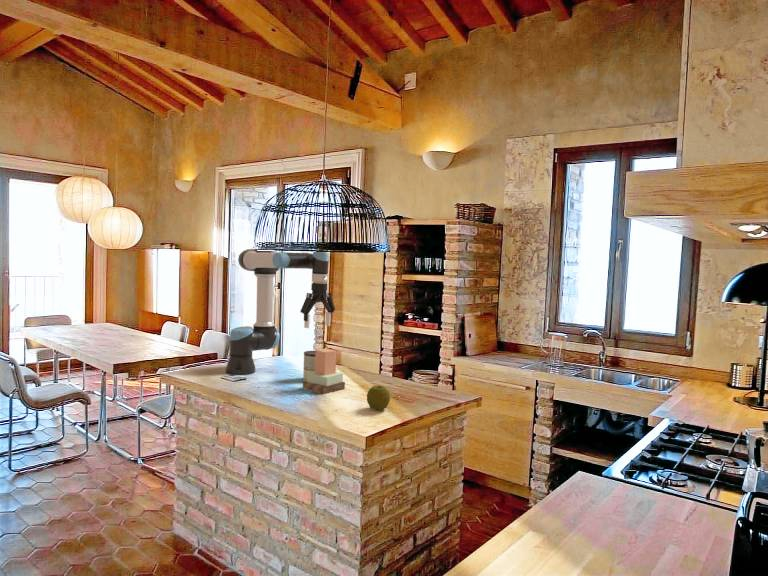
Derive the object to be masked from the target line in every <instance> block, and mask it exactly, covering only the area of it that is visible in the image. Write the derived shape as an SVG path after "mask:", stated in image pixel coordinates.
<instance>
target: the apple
mask: <svg viewBox="0 0 768 576" xmlns="http://www.w3.org/2000/svg"><path fill="white" fill-rule="evenodd" d="M390 400H391V395H390V391H389V390H388V388H386V387H385V386H383V385H373V386H372V387H371V388H369V389H368V391H367V393H366V401H367V403H368V406H369V408H370V409H373V411H383V410H385V409H386V408H387V407H388V406H389V404H390Z"/></svg>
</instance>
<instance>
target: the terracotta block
mask: <svg viewBox="0 0 768 576" xmlns="http://www.w3.org/2000/svg"><path fill="white" fill-rule="evenodd" d="M315 351H316V355H315V373H317V374H321V375H324V376H325V375H330V374H336V372H337V370H336V369H337V350H334V349H329V348H322V349H316V350H315Z"/></svg>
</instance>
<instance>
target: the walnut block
mask: <svg viewBox="0 0 768 576" xmlns="http://www.w3.org/2000/svg"><path fill="white" fill-rule="evenodd" d="M345 383H346V382H345V381H342V382H339V383H336V384H332V385H329V386H324V385H319V384H315V383H310V382H307V381H304V380H302V389H303V390H307V391H310V392H314V393H318V394H320V395H327V394H330V393H334V392H338V391H339V392H340V391H342V390H343V391H344V390H345V389H346V388H345V387H346V384H345Z"/></svg>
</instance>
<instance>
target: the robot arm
mask: <svg viewBox="0 0 768 576" xmlns="http://www.w3.org/2000/svg"><path fill="white" fill-rule="evenodd" d="M253 249H254V248H249V249H245V250H243V251H241V252H240V254H238V258H237V259H238V260H237V261H238V265H239V266H240V267H241V268H242V269H243V270H245V271H247V272H253V274H254V276H255V277H256V316H255V317H256V318H255V319H256V321H255V323H253V327H252V326H250V325H249V326H239V327H235V328H232V329H231V330H230V332H229V358H228V360H227V364H226V367H225V373H226V374H229V375H235V376H236V375H240V376H241V375H251V374H254V373H255V372H256V366H255V365H256V364H255V361H254V358H253V352H254V351H255V352H256V351H263V350H266V351H267V350H268V351H269V350H271V349H274V348H276V347H277V346H278V344H279V341H280V337H281V336H280V332H279V329H278V328H277V327H276V324H275V323H274V322H273V314H274V313H273V311H274V310H273V309H274V307H273V306H274V303H273V302H274V278H275V277H276V276H277V272H278V271H280V269H281V270H282V269H284V270H285V269H308V270H312V272H311V282H312V283H311V286H310V287H311V291H312V292H311V293H310V292H307V293H306V296H305V299H304V302H303V304H302V306H301V309H300V314H301V313H302V314H303V323H304V325H303V328H305V329H310V323H311V322H310V320H311V319H310V318H311V317H310V316H311V314H310V312H311V310H312V309H313V308H314V306H315V304H317V303H322V304H323V306H324V308H325V310H326V311H325V326H326V327H327V326H328V327H330V326H331V319H332V317H333V316H332V315H333V313H334V312H335V311H336V308H335V304H334V302H333V298H332V292H331V291H330V292H329V291H328V279H329V262H330V258H329V257H330V253H329V251H328V252H312V253H310V252H284V251H280V252H279V251H278V252H277V251H276V250H274V251H257V250H253Z"/></svg>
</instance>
